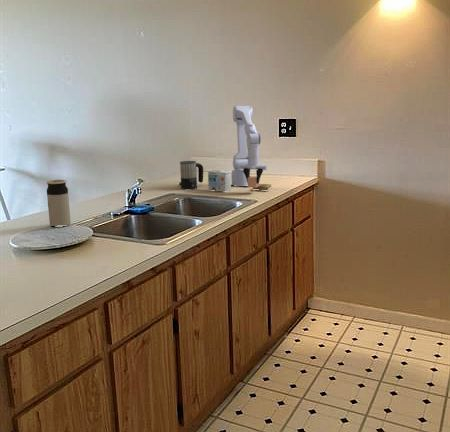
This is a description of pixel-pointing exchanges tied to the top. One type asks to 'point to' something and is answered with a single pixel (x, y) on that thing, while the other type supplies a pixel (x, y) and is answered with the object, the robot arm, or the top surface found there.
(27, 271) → the top surface
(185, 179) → the milk frother
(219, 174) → the light bulb box
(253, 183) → the block
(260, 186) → the plinth
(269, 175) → the top surface
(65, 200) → the travel mug
